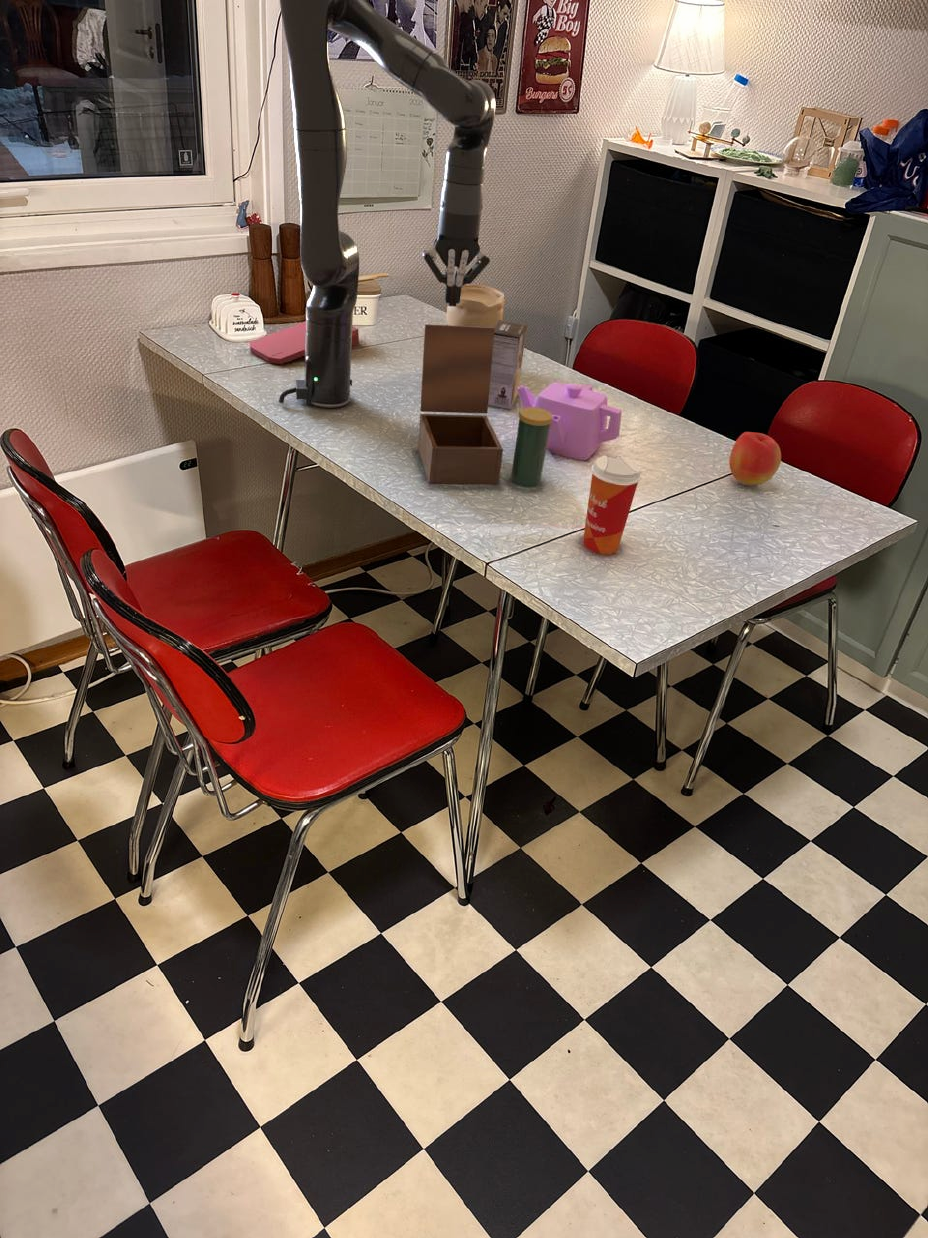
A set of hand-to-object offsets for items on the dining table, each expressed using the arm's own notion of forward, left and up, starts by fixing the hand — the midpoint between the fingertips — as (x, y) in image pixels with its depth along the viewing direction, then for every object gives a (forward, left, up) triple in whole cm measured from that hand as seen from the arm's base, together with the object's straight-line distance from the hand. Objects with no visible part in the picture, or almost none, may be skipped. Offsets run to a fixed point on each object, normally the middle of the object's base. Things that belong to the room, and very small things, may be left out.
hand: (451, 304), depth 179 cm
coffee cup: (+20, -47, -25) cm, 57 cm away
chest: (0, -19, -25) cm, 31 cm away
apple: (+58, -23, -25) cm, 67 cm away
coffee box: (+16, +15, -25) cm, 33 cm away
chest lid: (0, -11, -9) cm, 14 cm away
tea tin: (+12, -25, -25) cm, 37 cm away
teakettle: (+24, -7, -25) cm, 35 cm away
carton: (-25, +42, -25) cm, 55 cm away
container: (+12, +32, -25) cm, 42 cm away
